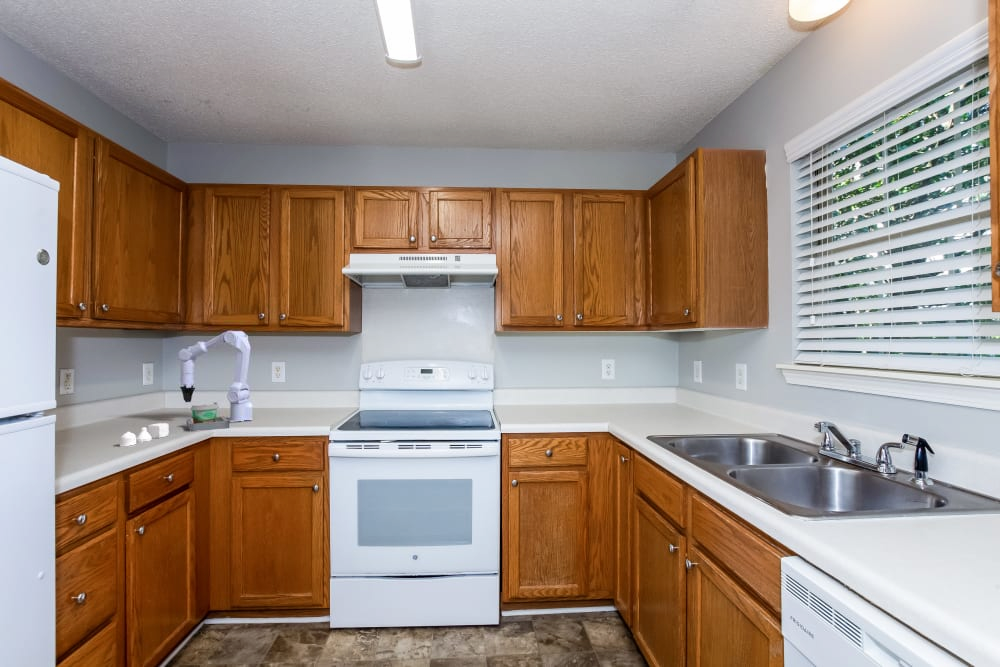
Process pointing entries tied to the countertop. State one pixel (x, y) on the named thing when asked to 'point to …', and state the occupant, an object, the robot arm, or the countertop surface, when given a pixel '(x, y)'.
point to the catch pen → (208, 425)
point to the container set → (145, 434)
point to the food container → (204, 413)
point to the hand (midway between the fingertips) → (187, 401)
